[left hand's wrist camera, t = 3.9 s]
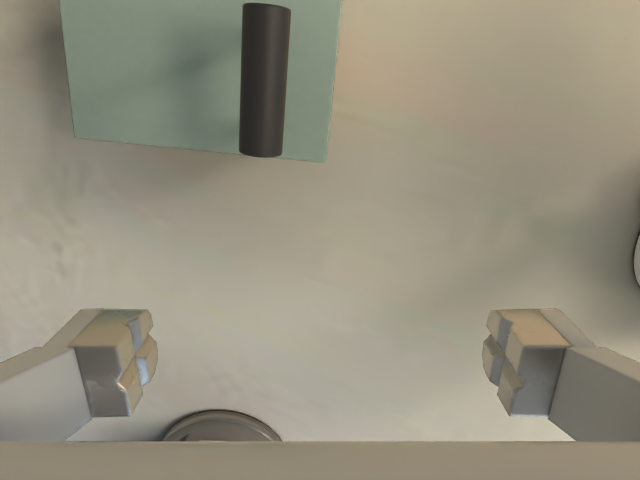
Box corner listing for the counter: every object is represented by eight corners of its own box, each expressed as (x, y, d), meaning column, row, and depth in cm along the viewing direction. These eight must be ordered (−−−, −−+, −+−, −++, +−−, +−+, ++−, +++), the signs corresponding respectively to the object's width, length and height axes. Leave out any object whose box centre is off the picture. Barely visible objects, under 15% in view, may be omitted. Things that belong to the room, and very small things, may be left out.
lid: (341, 0, 25) (350, -37, 16) (325, 159, 28) (325, 199, 19) (67, -29, 24) (-76, -84, 16) (84, 135, 28) (-25, 165, 19)
